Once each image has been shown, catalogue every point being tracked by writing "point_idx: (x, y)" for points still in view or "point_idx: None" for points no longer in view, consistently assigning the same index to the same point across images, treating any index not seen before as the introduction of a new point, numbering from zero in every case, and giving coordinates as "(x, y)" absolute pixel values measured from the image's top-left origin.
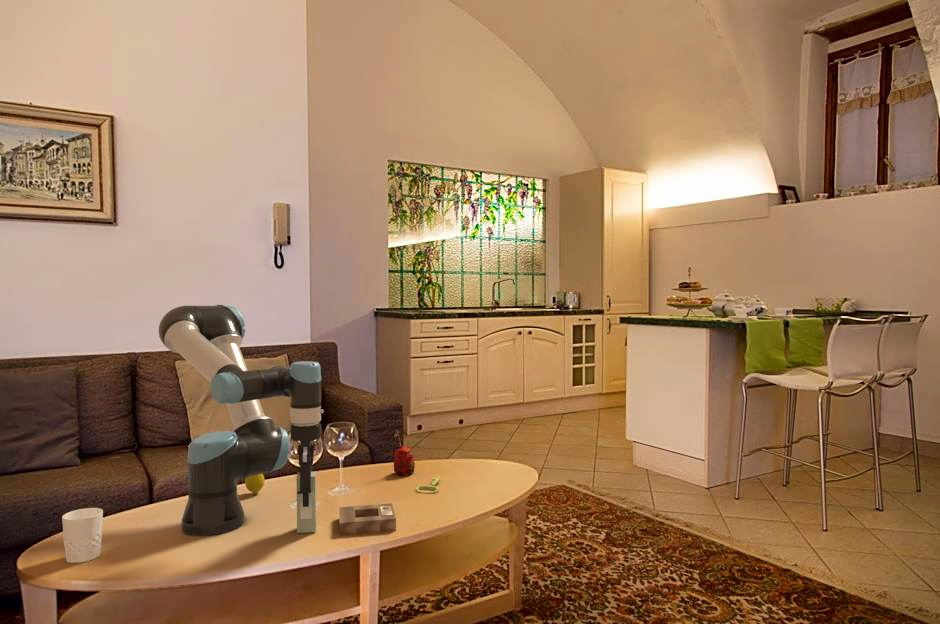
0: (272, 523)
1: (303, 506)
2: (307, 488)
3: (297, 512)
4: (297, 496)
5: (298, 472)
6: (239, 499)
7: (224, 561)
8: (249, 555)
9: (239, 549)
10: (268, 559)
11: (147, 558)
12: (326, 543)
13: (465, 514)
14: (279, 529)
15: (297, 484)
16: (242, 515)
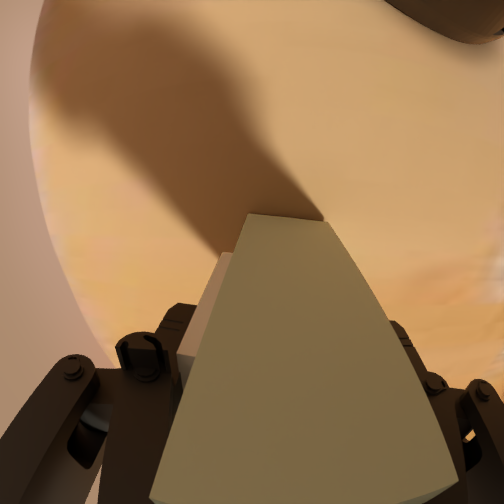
0: (413, 122)
1: (175, 308)
2: (79, 421)
3: (236, 250)
4: (214, 311)
5: (449, 486)
6: (496, 2)
7: (83, 14)
8: (94, 63)
9: (154, 16)
10: (55, 131)
11: None
12: (137, 304)
13: None
14: (334, 140)
15: (179, 410)
16: (437, 12)
